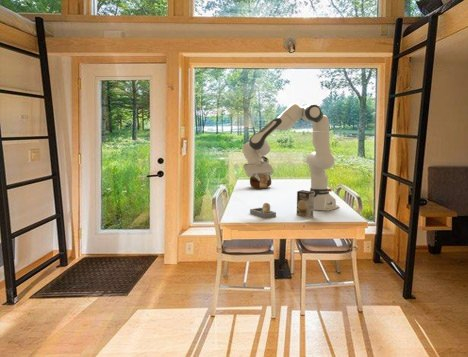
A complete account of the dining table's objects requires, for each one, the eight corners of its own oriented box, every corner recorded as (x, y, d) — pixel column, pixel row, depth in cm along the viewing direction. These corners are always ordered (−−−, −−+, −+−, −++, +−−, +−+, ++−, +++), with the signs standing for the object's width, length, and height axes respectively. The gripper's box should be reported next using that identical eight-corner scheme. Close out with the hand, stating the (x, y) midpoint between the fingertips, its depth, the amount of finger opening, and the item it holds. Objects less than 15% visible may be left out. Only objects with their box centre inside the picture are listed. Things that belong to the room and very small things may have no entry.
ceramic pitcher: (245, 187, 338) (245, 155, 334) (260, 185, 351) (261, 154, 347) (260, 190, 323) (260, 157, 319) (275, 188, 336) (276, 155, 332)
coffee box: (295, 216, 230) (296, 191, 228) (301, 214, 235) (302, 189, 232) (308, 218, 224) (308, 193, 222) (313, 216, 228) (314, 191, 226)
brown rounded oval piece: (264, 186, 237) (264, 173, 236) (268, 187, 233) (268, 174, 232) (258, 186, 234) (258, 173, 233) (262, 187, 230) (262, 174, 229)
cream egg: (267, 214, 230) (267, 201, 229) (271, 216, 226) (271, 203, 225) (260, 215, 228) (261, 202, 227) (265, 217, 224) (265, 204, 223)
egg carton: (260, 212, 239) (260, 207, 239) (275, 217, 226) (275, 212, 225) (250, 214, 235) (250, 209, 234) (264, 219, 221) (265, 214, 221)
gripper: (244, 161, 232) (252, 178, 225) (269, 159, 242) (278, 175, 235) (240, 167, 236) (248, 184, 229) (265, 165, 247) (274, 181, 240)
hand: (264, 180), depth 232 cm, fingers closed on brown rounded oval piece, 5 cm apart
